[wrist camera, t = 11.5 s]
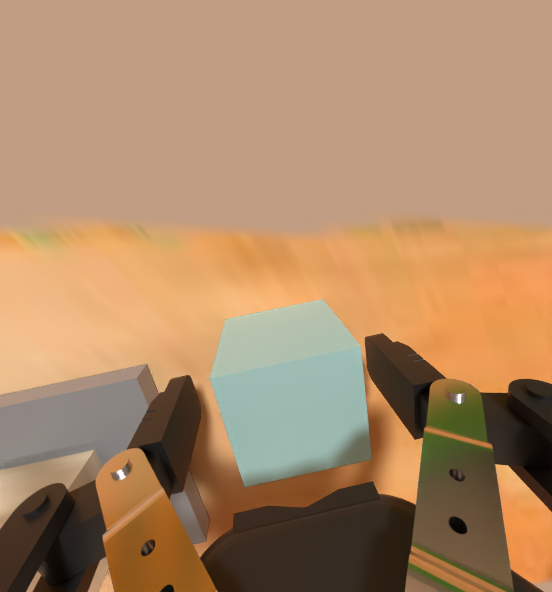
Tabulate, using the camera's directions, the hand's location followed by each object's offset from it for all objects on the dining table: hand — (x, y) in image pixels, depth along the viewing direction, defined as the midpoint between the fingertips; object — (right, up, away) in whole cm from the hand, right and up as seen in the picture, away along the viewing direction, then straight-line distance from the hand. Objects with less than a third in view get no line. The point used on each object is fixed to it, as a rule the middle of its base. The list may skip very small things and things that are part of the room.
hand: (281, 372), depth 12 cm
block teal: (0, +1, +2) cm, 2 cm away
